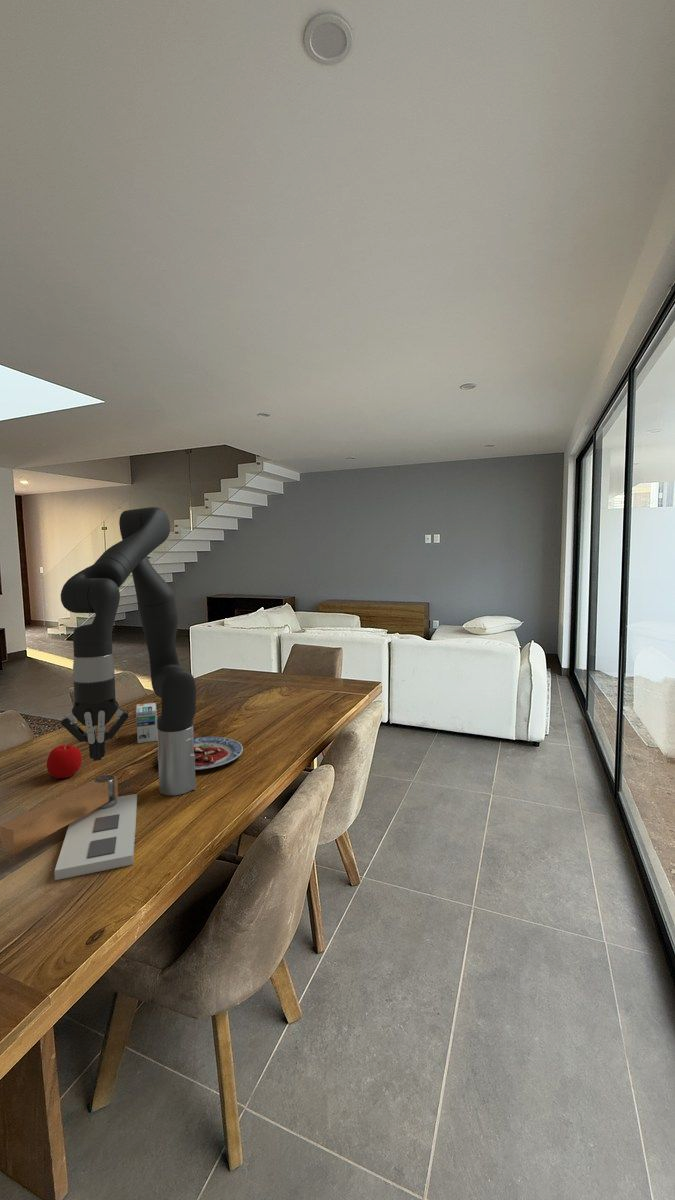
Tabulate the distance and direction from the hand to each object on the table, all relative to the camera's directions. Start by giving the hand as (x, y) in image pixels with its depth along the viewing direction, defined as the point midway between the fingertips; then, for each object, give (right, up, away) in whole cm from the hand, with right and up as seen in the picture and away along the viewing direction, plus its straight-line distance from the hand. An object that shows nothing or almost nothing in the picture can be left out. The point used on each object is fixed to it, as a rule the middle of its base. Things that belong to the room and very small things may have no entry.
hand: (97, 759), depth 101 cm
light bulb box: (-17, -16, +71) cm, 75 cm away
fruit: (-29, -18, +41) cm, 53 cm away
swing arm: (-12, -17, +10) cm, 23 cm away
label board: (-4, -20, +10) cm, 23 cm away
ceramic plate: (+7, -17, +53) cm, 56 cm away
